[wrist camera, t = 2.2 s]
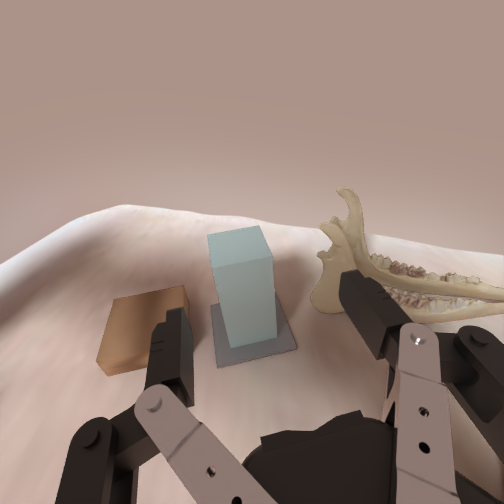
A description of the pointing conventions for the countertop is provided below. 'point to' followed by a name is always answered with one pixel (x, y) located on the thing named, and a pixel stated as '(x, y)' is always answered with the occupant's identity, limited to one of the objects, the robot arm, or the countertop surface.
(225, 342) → the gray tile
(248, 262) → the block
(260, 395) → the countertop surface
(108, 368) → the stand
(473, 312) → the jawbone
